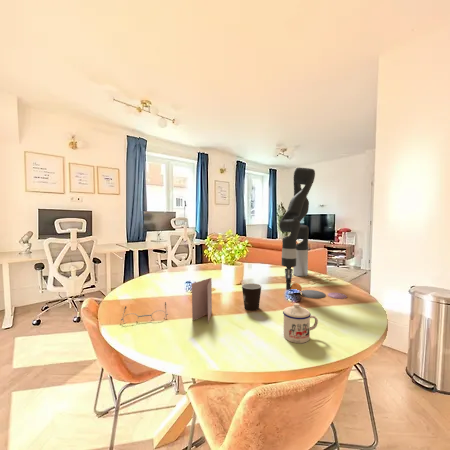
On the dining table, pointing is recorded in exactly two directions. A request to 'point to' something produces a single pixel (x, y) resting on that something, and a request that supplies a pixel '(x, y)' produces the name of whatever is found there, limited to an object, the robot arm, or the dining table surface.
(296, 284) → the ball
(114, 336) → the dining table surface
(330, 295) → the disc
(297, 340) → the teacup with lid
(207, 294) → the greeting card
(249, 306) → the coffee mug
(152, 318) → the eyeglasses
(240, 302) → the dining table surface
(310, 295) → the disc
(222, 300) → the dining table surface
